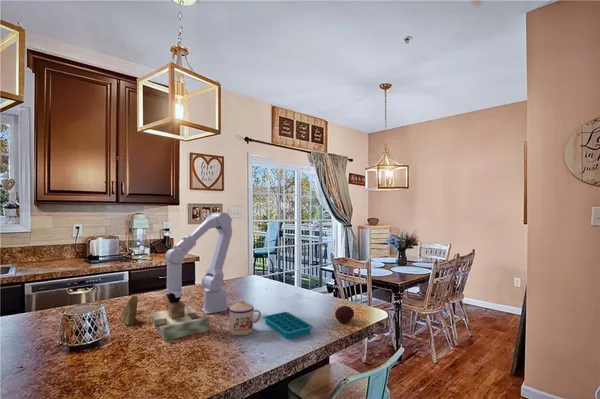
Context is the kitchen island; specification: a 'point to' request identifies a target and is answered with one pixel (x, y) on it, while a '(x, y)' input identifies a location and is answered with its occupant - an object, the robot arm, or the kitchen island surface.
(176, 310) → the block
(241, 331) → the teacup with lid
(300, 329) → the ice cube tray
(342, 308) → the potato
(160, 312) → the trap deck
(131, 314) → the rock
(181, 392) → the kitchen island surface
